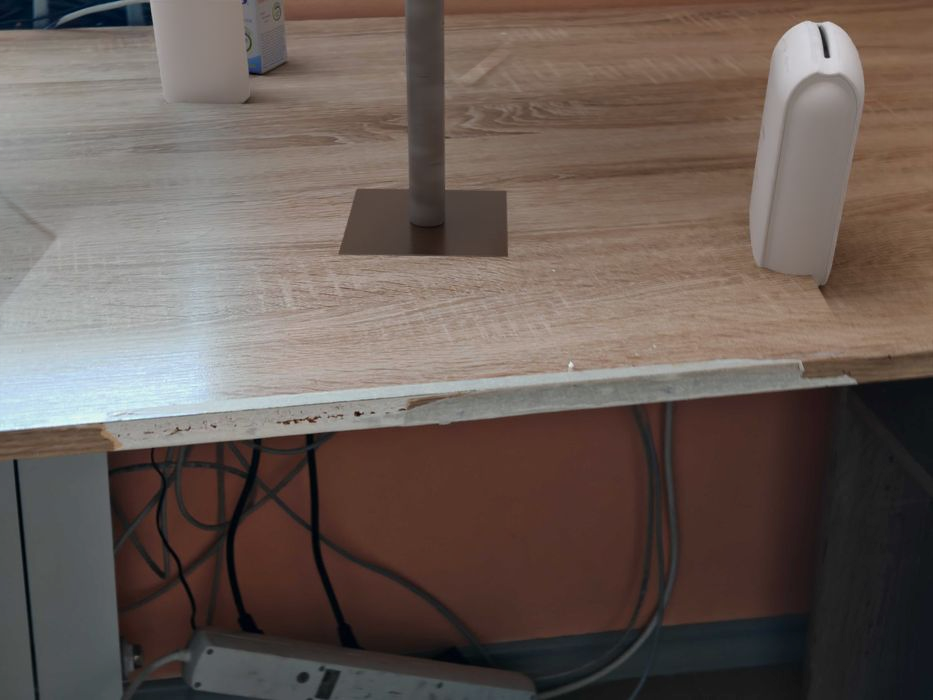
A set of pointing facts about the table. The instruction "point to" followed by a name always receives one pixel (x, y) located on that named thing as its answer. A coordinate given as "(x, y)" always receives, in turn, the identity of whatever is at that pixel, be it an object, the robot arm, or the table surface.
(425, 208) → the post stand
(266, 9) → the medicine box
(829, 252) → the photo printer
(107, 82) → the table surface
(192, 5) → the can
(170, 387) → the table surface
